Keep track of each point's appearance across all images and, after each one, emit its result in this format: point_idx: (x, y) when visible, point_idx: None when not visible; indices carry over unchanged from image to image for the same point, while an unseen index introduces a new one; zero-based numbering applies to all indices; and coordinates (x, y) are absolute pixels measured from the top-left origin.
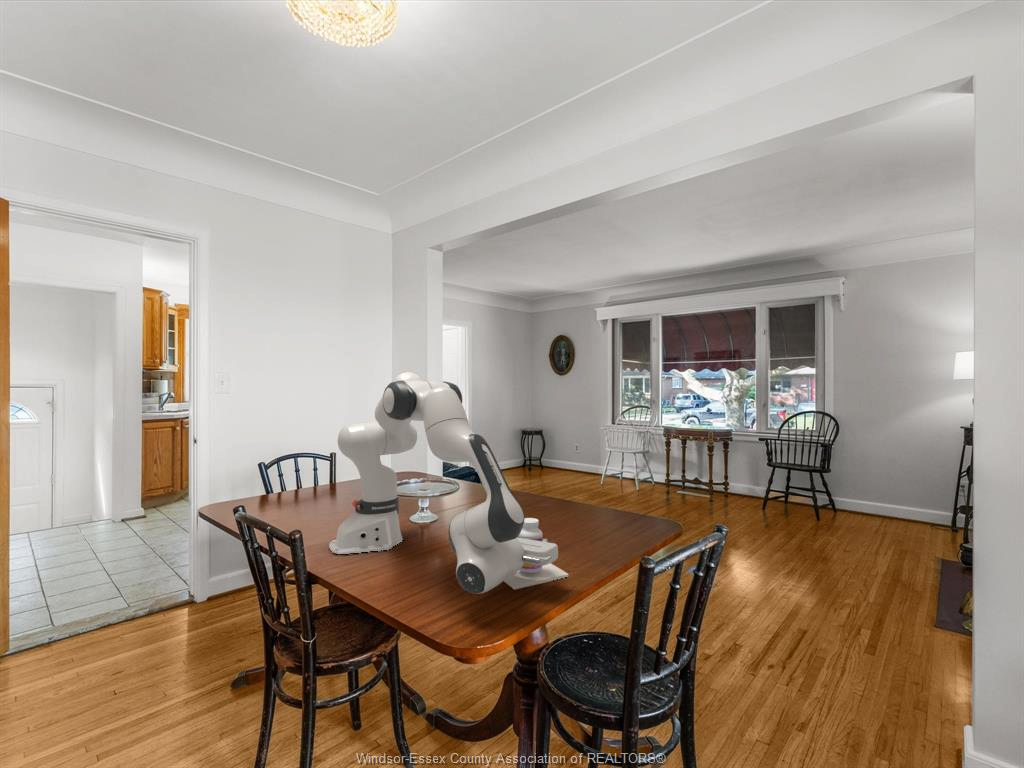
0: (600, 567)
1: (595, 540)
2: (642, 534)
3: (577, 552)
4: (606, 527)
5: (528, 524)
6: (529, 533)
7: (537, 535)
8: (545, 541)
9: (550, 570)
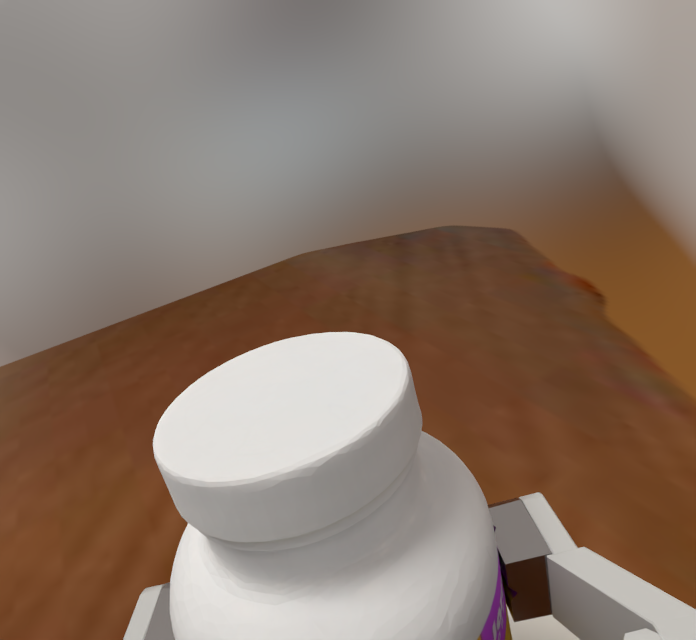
0: (621, 418)
1: (401, 318)
2: (474, 257)
3: (419, 387)
4: (371, 278)
5: (329, 486)
6: (395, 606)
7: (485, 543)
8: (567, 539)
9: (514, 632)
